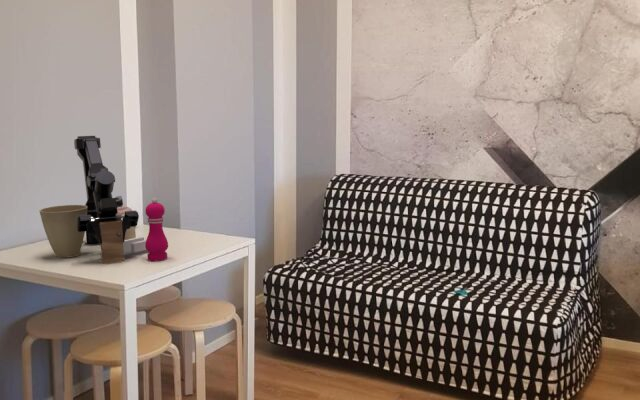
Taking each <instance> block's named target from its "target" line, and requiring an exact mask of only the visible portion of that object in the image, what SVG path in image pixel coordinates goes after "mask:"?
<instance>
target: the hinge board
mask: <svg viewBox="0 0 640 400" xmlns="http://www.w3.org/2000/svg"><path fill="white" fill-rule="evenodd" d="M146 240H147V239H145V237H144V236H139V237H138V236H137V237H136V238H133V239H128V240H124V242H123V248H124V259H127V258H131V257H132V258H133V257H136V256H140V255H145V254H148V253H149V252H148V251H147V250H146V248H145V244H146Z"/></svg>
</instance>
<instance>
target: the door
mask: <svg viewBox="0 0 640 400" xmlns="http://www.w3.org/2000/svg"><path fill="white" fill-rule="evenodd" d="M99 223H100V235H101V238H102V244H100V253H101V262H102V263H101V264H104V265H106V264H107V265H108V264H115V263H123V262H125V258H124V248H123V231H122V221H121V220H119V221H108V222H99Z"/></svg>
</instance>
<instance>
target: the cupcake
mask: <svg viewBox="0 0 640 400" xmlns="http://www.w3.org/2000/svg"><path fill="white" fill-rule="evenodd" d="M117 211H118V213H117V214H116V216H117V217H118V216H122V215H123V214H125V211H133V209H132V208H131V207H129V206H127V205H126V204H125V203H123V205H122V207H118V208H117Z"/></svg>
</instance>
